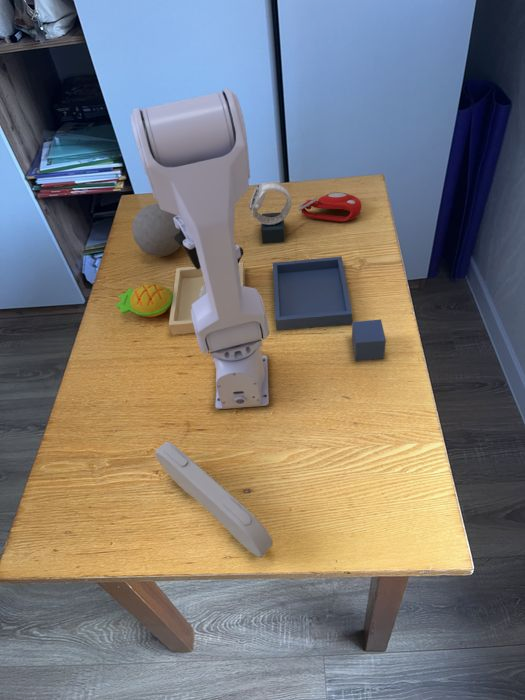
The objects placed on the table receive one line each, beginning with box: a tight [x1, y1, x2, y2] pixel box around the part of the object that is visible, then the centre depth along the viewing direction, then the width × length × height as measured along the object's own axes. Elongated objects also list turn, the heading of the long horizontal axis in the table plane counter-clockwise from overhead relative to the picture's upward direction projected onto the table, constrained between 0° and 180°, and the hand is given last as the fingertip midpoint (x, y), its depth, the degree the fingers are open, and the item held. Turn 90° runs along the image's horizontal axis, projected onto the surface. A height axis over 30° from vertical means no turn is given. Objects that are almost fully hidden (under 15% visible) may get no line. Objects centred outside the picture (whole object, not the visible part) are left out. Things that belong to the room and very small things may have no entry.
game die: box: [199, 285, 207, 298], centre depth 91 cm, size 4×4×3 cm
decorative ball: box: [131, 203, 181, 257], centre depth 99 cm, size 10×10×10 cm
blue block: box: [351, 318, 387, 362], centre depth 80 cm, size 4×4×4 cm
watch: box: [249, 181, 292, 244], centre depth 99 cm, size 6×8×11 cm
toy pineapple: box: [115, 283, 173, 318], centre depth 90 cm, size 7×10×5 cm
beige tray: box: [168, 261, 246, 336], centre depth 91 cm, size 15×13×2 cm
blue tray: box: [272, 256, 353, 331], centre depth 89 cm, size 15×13×2 cm
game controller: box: [154, 441, 274, 558], centre depth 64 cm, size 20×2×8 cm, turn 47°
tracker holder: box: [298, 191, 362, 223], centre depth 104 cm, size 12×4×10 cm
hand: (214, 275), depth 88 cm, fingers open, 7 cm apart
